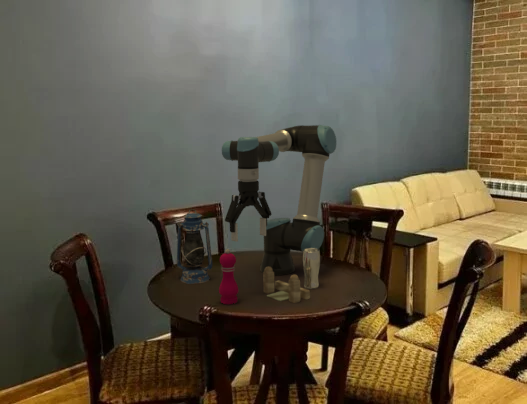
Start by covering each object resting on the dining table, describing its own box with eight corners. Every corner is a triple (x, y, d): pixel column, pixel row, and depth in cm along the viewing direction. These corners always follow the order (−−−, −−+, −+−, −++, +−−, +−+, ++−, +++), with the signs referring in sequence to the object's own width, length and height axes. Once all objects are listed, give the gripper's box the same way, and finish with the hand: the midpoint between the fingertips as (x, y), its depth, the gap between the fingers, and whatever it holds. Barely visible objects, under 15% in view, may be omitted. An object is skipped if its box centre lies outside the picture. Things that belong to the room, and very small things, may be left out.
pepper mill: (219, 298, 207) (217, 247, 204) (238, 298, 208) (237, 246, 204) (219, 305, 200) (217, 251, 197) (239, 304, 200) (237, 251, 197)
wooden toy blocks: (258, 293, 213) (257, 267, 211) (278, 287, 219) (278, 262, 218) (289, 304, 199) (289, 277, 198) (310, 298, 206) (310, 272, 204)
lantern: (172, 283, 227) (169, 211, 223) (182, 274, 239) (179, 206, 234) (208, 284, 224) (205, 212, 219) (216, 276, 236) (214, 207, 231)
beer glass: (321, 284, 222) (321, 248, 220) (317, 289, 216) (317, 252, 213) (305, 283, 224) (304, 247, 222) (300, 288, 218) (300, 251, 215)
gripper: (227, 184, 187) (228, 245, 190) (280, 178, 203) (280, 234, 206) (214, 182, 192) (215, 241, 195) (267, 176, 209) (267, 231, 212)
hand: (249, 238), depth 201 cm, fingers open, 13 cm apart
